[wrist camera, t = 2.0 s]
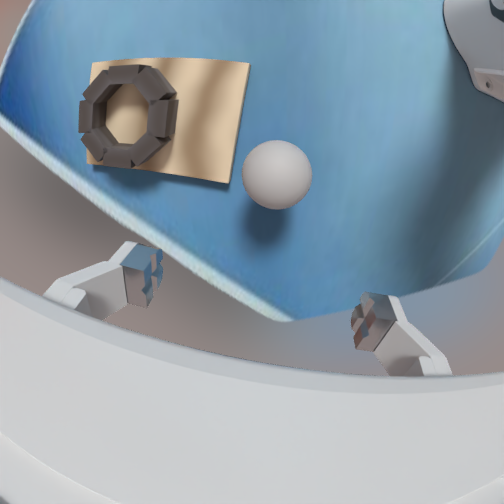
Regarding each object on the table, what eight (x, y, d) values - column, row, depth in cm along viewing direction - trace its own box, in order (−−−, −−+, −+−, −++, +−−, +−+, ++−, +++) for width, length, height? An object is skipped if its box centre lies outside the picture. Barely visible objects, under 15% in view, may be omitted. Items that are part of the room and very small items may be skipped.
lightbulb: (280, 191, 32) (277, 234, 23) (241, 157, 31) (220, 187, 22) (316, 156, 30) (331, 185, 20) (277, 119, 28) (273, 130, 19)
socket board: (250, 65, 25) (245, 59, 21) (230, 179, 32) (222, 192, 29) (98, 63, 25) (77, 62, 21) (93, 160, 32) (73, 170, 29)
